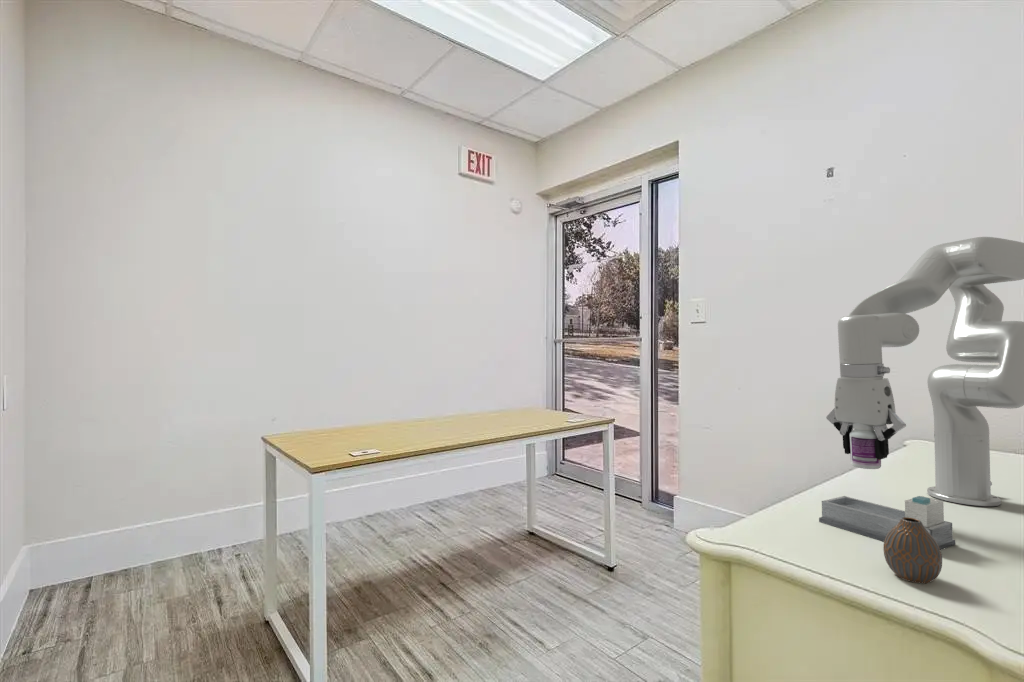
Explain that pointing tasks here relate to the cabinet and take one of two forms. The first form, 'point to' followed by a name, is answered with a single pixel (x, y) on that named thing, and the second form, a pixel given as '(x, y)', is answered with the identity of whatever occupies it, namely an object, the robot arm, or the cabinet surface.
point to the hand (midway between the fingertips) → (865, 454)
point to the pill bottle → (863, 447)
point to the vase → (912, 552)
